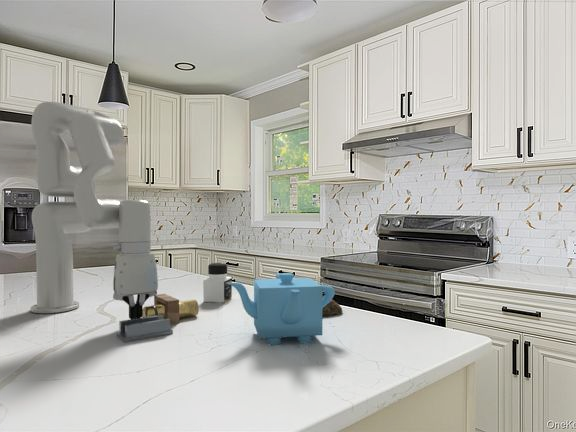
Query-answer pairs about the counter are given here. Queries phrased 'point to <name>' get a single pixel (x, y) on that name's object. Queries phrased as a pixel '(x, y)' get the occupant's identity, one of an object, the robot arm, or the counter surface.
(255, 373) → the counter surface
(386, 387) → the counter surface
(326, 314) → the bread roll
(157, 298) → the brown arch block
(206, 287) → the medicine bottle
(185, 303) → the axle
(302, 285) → the teakettle
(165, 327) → the cradle
